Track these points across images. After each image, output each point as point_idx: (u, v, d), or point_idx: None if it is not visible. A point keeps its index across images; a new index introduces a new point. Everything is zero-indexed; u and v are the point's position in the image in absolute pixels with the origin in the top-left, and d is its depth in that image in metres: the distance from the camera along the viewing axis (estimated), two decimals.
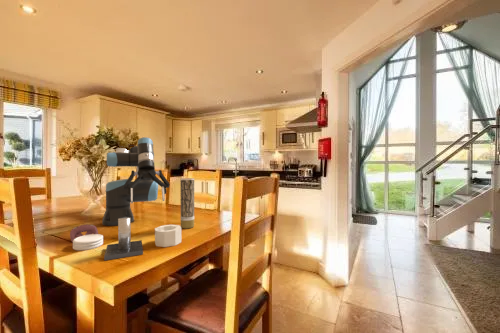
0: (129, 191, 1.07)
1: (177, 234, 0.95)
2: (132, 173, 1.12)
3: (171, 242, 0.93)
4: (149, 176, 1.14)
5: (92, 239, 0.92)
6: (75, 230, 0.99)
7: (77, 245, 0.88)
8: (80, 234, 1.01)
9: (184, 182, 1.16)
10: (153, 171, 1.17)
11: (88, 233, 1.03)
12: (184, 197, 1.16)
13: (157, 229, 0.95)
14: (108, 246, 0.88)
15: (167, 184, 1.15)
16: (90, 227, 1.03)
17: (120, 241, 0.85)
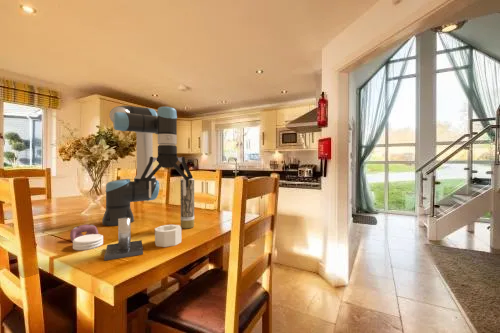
0: (147, 185, 0.93)
1: (177, 234, 0.95)
2: (150, 161, 0.93)
3: (171, 242, 0.93)
4: (170, 165, 0.96)
5: (92, 239, 0.92)
6: (75, 230, 0.99)
7: (77, 245, 0.88)
8: (80, 234, 1.01)
9: None
10: (175, 158, 0.97)
11: (88, 233, 1.03)
12: (184, 197, 1.16)
13: (157, 229, 0.95)
14: (108, 246, 0.88)
15: (190, 177, 1.00)
16: (90, 227, 1.03)
17: (120, 241, 0.85)
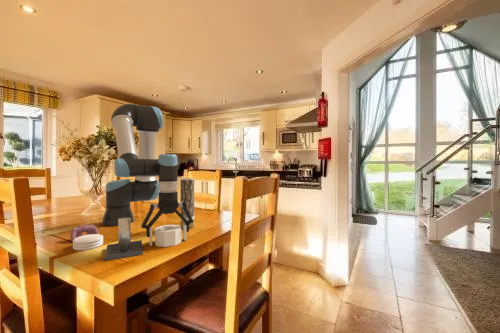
0: (148, 232, 0.93)
1: (177, 234, 0.95)
2: (151, 209, 0.93)
3: (171, 242, 0.93)
4: (171, 211, 0.96)
5: (92, 239, 0.92)
6: (75, 230, 0.99)
7: (77, 245, 0.88)
8: (80, 234, 1.00)
9: (184, 182, 1.16)
10: (176, 204, 0.97)
11: (88, 233, 1.02)
12: (184, 197, 1.16)
13: (157, 229, 0.95)
14: (108, 246, 0.88)
15: (190, 221, 1.00)
16: (90, 227, 1.02)
17: (120, 241, 0.85)
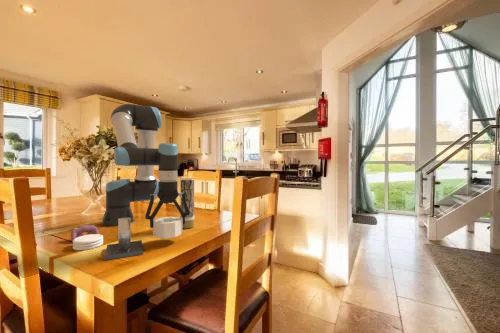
0: (151, 223, 0.94)
1: (177, 226, 0.95)
2: (152, 199, 0.93)
3: (171, 234, 0.93)
4: (171, 201, 0.97)
5: (92, 238, 0.92)
6: (76, 230, 0.98)
7: (77, 245, 0.88)
8: (81, 235, 1.00)
9: (184, 182, 1.16)
10: (176, 194, 0.97)
11: (89, 234, 1.02)
12: None
13: (157, 221, 0.95)
14: (108, 246, 0.88)
15: (186, 213, 1.00)
16: (91, 227, 1.02)
17: (120, 241, 0.85)
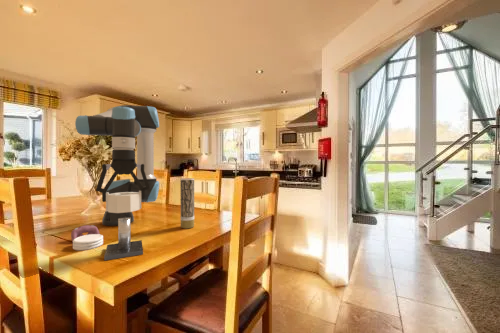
0: (104, 197, 0.83)
1: (133, 200, 0.85)
2: (104, 169, 0.83)
3: (125, 208, 0.83)
4: (127, 172, 0.86)
5: (92, 238, 0.92)
6: (76, 231, 0.98)
7: (77, 245, 0.88)
8: (81, 235, 1.00)
9: (184, 182, 1.16)
10: (133, 164, 0.87)
11: (89, 234, 1.02)
12: (184, 197, 1.16)
13: (111, 194, 0.85)
14: (108, 246, 0.88)
15: (146, 187, 0.89)
16: (91, 228, 1.02)
17: (120, 241, 0.85)
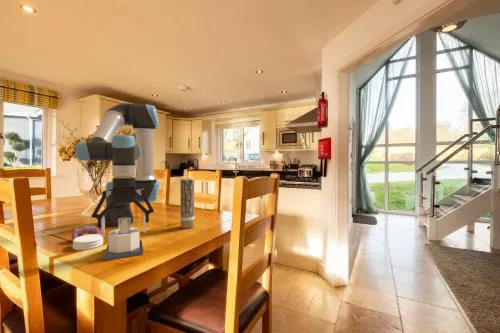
0: (99, 222, 0.83)
1: (133, 238, 0.85)
2: (103, 196, 0.83)
3: (125, 247, 0.83)
4: (127, 199, 0.86)
5: (92, 238, 0.92)
6: (77, 231, 0.97)
7: (77, 245, 0.88)
8: (82, 235, 0.99)
9: (184, 182, 1.16)
10: (133, 191, 0.87)
11: None
12: (184, 197, 1.16)
13: (111, 233, 0.85)
14: (108, 246, 0.88)
15: (150, 211, 0.90)
16: (92, 228, 1.01)
17: None
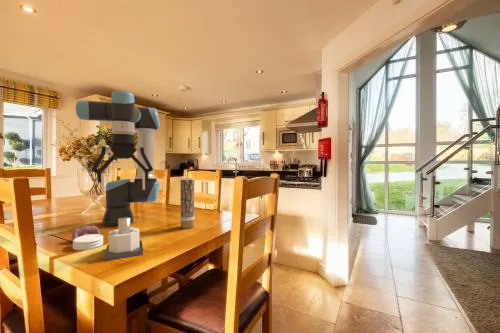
0: (99, 177, 0.84)
1: (133, 238, 0.85)
2: (103, 151, 0.84)
3: (125, 247, 0.83)
4: (126, 156, 0.87)
5: (92, 238, 0.92)
6: (77, 231, 0.97)
7: (77, 245, 0.88)
8: (82, 235, 0.99)
9: (184, 182, 1.16)
10: (132, 149, 0.88)
11: None
12: (184, 197, 1.16)
13: (111, 233, 0.85)
14: (108, 246, 0.88)
15: (150, 169, 0.91)
16: (92, 228, 1.01)
17: None
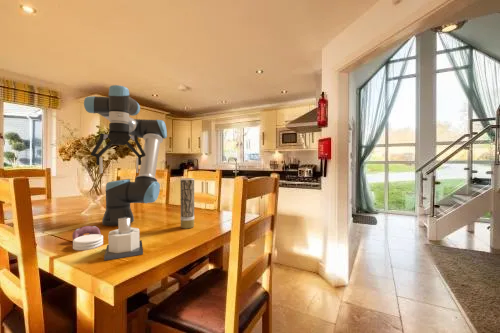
0: (98, 160, 0.96)
1: (133, 238, 0.85)
2: (101, 137, 0.96)
3: (125, 247, 0.83)
4: (122, 143, 0.99)
5: (92, 239, 0.92)
6: (78, 232, 0.97)
7: (77, 245, 0.88)
8: None
9: (184, 182, 1.16)
10: (127, 136, 1.00)
11: None
12: (184, 197, 1.16)
13: (111, 233, 0.85)
14: (108, 246, 0.88)
15: (142, 155, 1.03)
16: (93, 228, 1.01)
17: None
